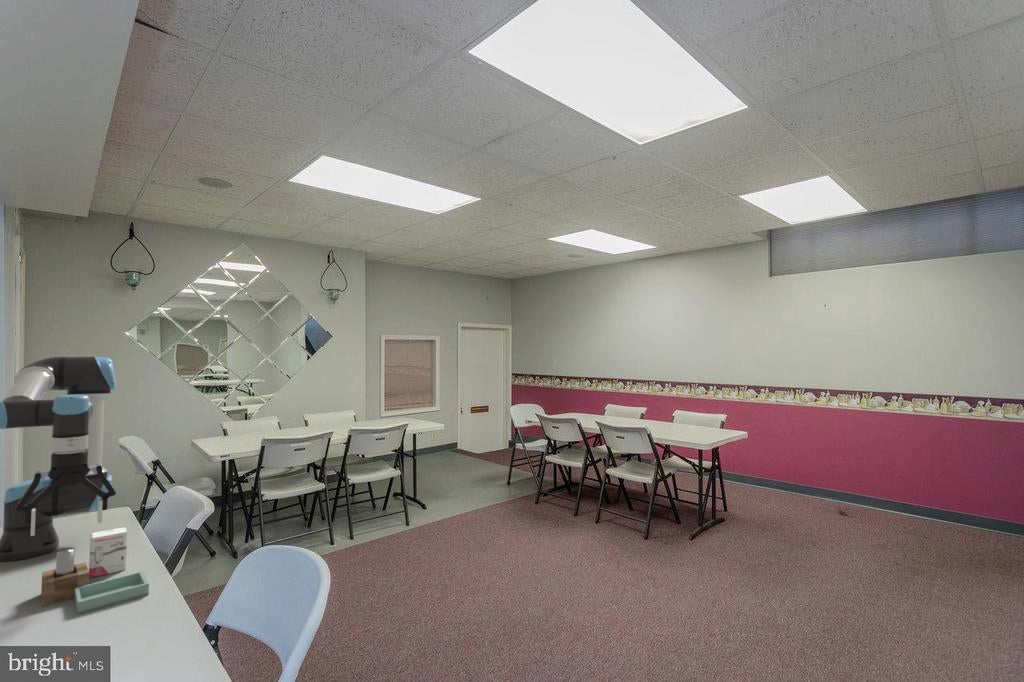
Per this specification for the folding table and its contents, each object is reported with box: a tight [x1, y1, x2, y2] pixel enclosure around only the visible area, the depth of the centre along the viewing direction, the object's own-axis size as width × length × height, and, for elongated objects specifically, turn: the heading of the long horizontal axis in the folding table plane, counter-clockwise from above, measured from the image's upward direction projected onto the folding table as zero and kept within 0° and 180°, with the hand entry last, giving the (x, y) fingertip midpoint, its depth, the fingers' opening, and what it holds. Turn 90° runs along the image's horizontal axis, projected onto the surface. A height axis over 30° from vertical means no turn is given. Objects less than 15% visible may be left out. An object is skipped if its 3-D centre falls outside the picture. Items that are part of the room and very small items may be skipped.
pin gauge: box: [55, 547, 75, 577], centre depth 132 cm, size 4×4×12 cm
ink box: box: [88, 527, 128, 579], centre depth 146 cm, size 9×5×12 cm, turn 132°
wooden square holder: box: [40, 562, 90, 607], centre depth 132 cm, size 9×9×6 cm
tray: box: [73, 570, 150, 615], centre depth 131 cm, size 11×15×3 cm
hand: (67, 528), depth 133 cm, fingers open, 13 cm apart
